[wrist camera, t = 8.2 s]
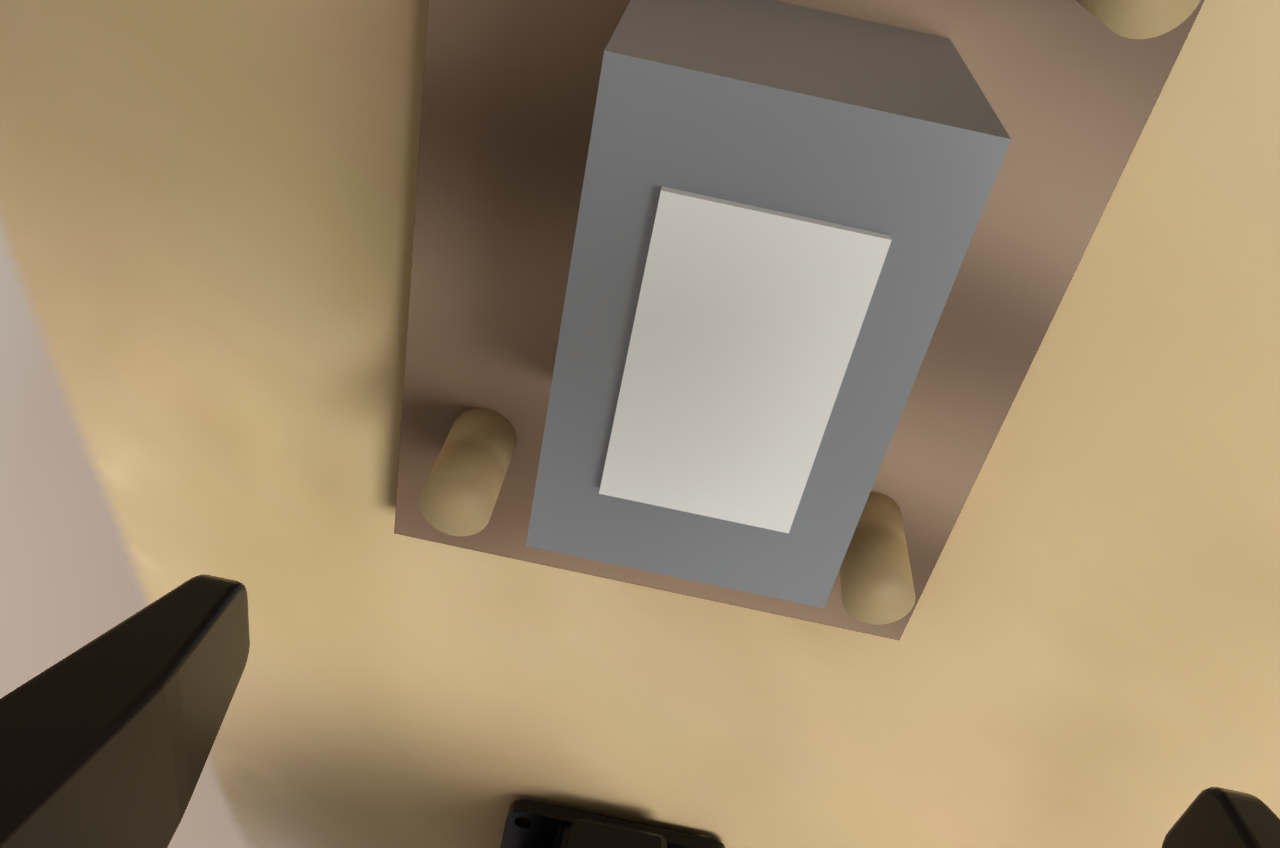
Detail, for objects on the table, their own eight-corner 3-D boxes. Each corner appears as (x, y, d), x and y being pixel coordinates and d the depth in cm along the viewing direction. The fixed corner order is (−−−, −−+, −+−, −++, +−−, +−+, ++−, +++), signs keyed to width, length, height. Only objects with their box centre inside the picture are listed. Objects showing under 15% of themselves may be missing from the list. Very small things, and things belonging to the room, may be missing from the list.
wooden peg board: (895, 616, 24) (911, 726, 22) (404, 511, 24) (358, 609, 22) (1312, -282, 14) (1440, -286, 12) (474, -476, 14) (404, -526, 11)
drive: (812, 436, 21) (824, 614, 17) (573, 385, 21) (524, 551, 17) (949, 38, 16) (1013, 143, 12) (645, -29, 16) (601, 53, 12)
